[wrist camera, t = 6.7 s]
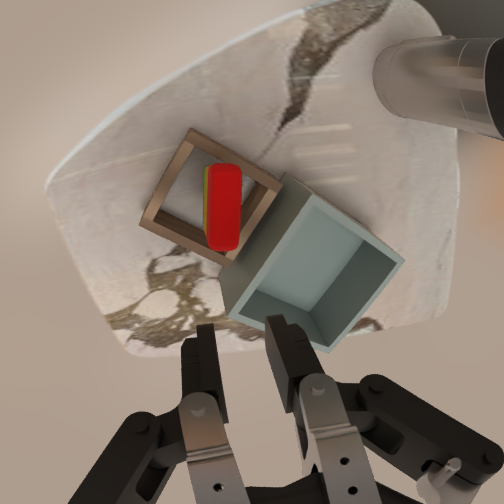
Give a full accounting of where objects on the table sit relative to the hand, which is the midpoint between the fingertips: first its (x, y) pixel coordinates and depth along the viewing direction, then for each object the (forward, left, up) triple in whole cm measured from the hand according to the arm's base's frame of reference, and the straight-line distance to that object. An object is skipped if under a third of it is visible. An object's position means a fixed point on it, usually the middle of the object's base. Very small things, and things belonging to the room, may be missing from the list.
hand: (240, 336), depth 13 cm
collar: (0, 0, -22) cm, 22 cm away
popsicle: (0, 0, -22) cm, 22 cm away
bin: (+1, +13, -22) cm, 25 cm away
